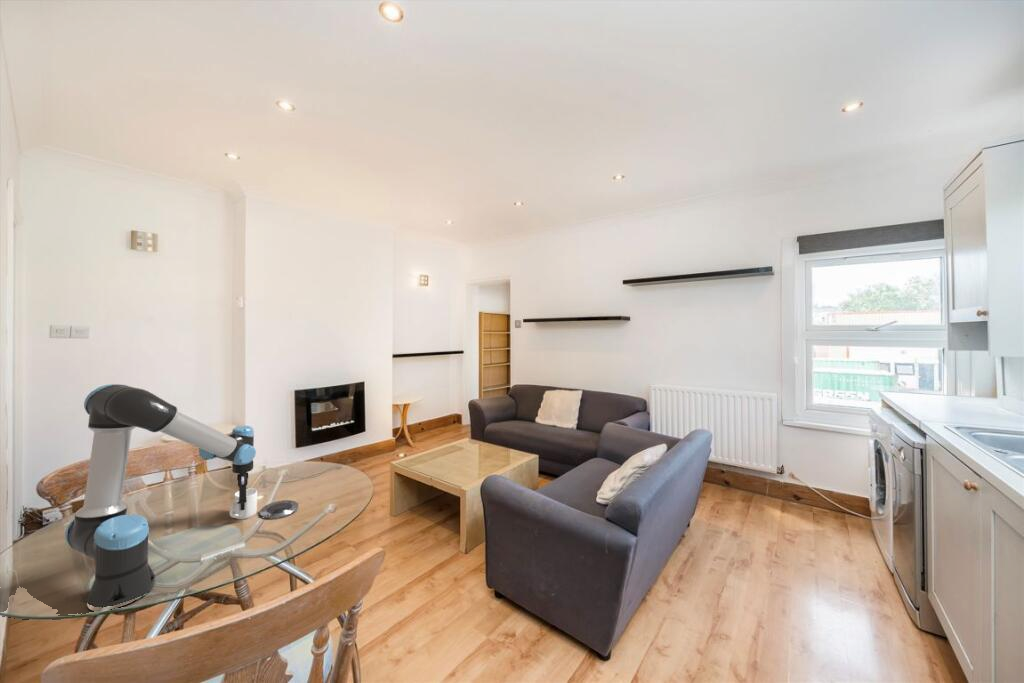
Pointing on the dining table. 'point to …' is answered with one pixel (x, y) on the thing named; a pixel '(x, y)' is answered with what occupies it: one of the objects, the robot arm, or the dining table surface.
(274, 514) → the metal plate
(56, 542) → the dining table surface
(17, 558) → the dining table surface
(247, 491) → the mug
